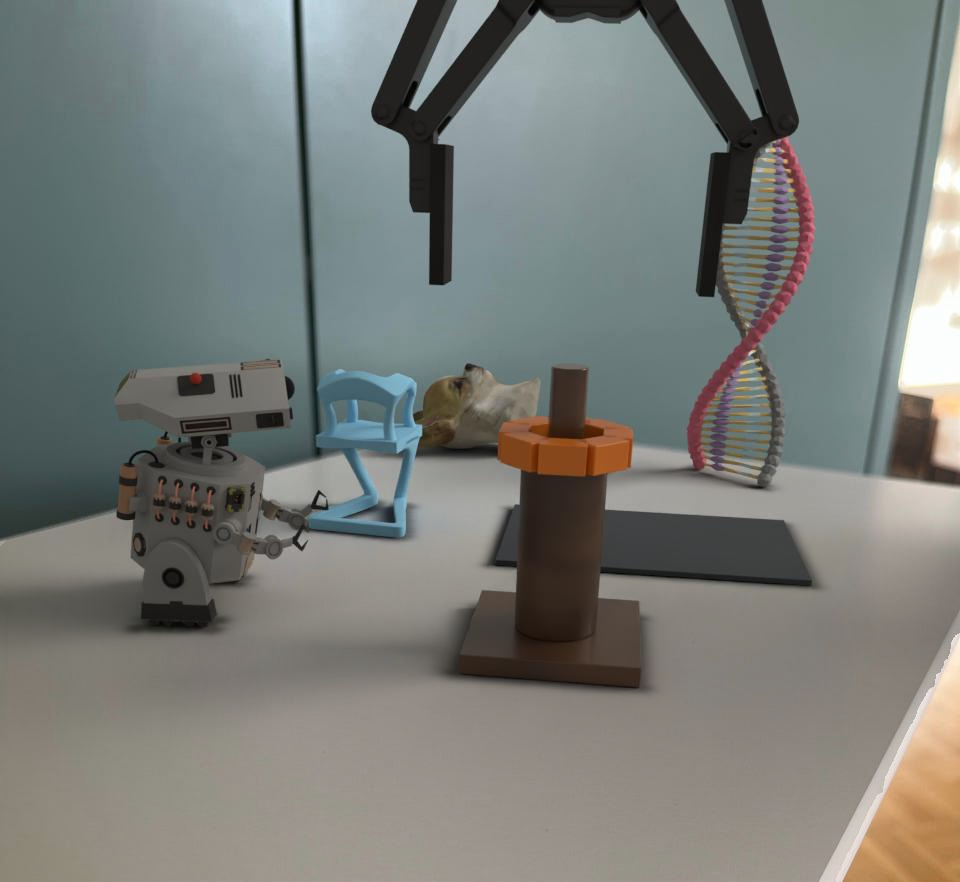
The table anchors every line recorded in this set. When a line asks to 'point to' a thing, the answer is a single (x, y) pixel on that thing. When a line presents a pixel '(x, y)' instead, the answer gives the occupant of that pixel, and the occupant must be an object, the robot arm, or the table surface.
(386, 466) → the table surface
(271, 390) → the figurine
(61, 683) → the table surface
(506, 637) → the ring stand
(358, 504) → the chair
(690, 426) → the dna model
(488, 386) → the toy dog
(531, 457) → the orange ring
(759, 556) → the rubber mat
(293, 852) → the table surface
